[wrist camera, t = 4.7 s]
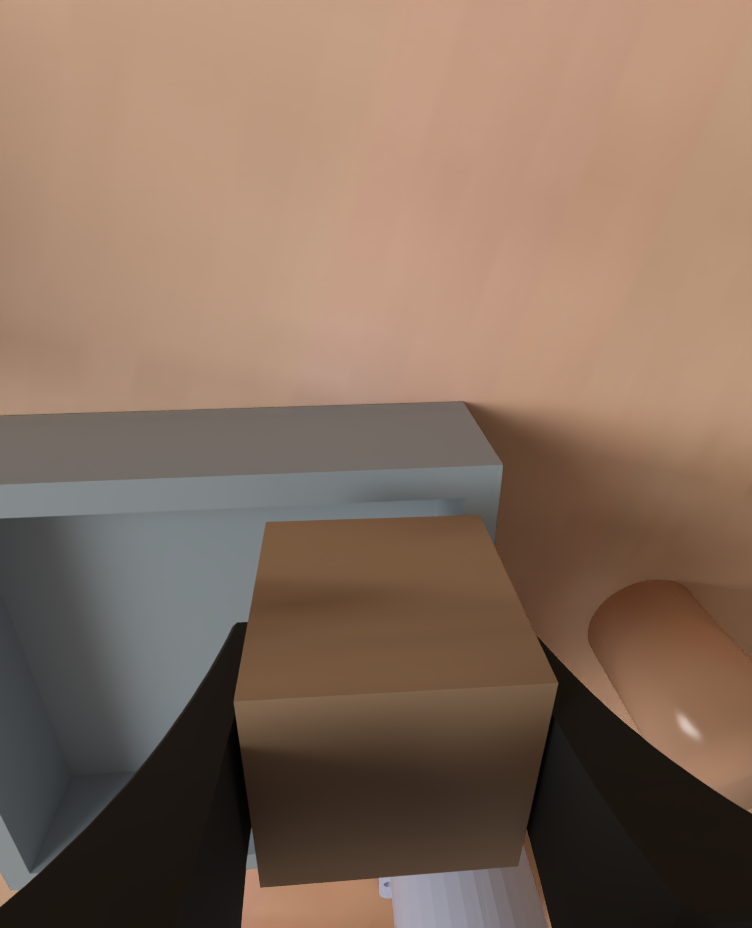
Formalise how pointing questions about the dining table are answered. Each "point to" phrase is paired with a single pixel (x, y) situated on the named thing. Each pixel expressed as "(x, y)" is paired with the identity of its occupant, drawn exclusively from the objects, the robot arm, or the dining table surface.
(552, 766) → the robot arm
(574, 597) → the dining table surface
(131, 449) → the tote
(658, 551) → the dining table surface
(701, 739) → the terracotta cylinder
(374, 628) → the walnut cube
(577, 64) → the dining table surface
